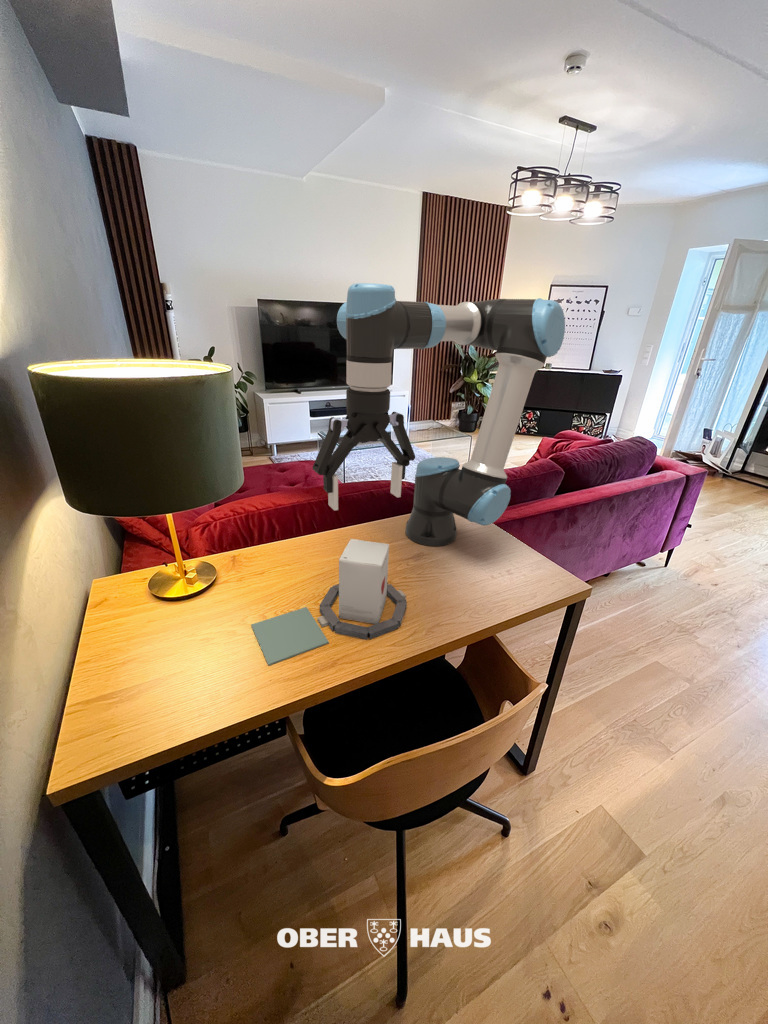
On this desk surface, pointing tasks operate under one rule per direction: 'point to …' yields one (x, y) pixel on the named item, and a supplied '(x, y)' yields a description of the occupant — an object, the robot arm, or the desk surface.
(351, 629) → the socket collar
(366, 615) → the supplement box
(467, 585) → the desk surface
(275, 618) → the felt pad
